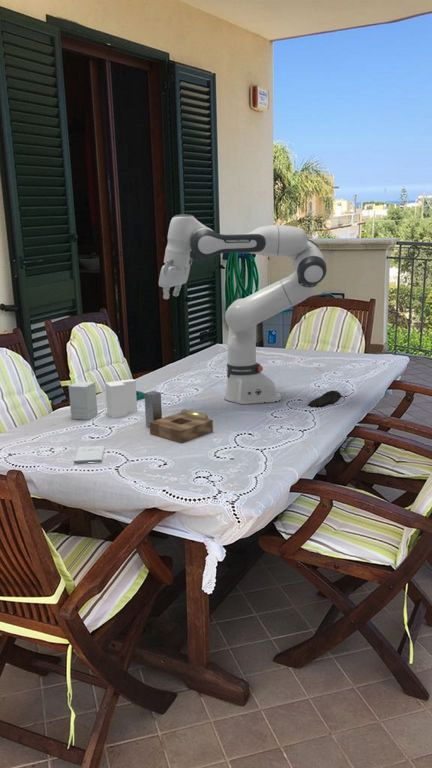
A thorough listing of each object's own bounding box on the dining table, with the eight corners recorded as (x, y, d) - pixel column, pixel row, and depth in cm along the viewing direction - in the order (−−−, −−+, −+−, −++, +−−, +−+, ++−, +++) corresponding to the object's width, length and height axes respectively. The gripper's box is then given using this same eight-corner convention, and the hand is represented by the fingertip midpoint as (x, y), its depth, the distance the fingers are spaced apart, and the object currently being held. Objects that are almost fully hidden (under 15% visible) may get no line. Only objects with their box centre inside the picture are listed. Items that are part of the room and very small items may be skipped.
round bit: (181, 421, 235) (179, 411, 234) (188, 417, 238) (187, 407, 236) (200, 426, 228) (199, 416, 227) (208, 422, 231) (207, 412, 230)
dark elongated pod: (324, 410, 244) (324, 402, 243) (306, 407, 248) (306, 400, 247) (348, 397, 262) (348, 389, 261) (331, 394, 266) (331, 387, 265)
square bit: (154, 423, 232) (153, 390, 229) (162, 425, 229) (160, 392, 227) (146, 426, 229) (144, 393, 226) (153, 428, 227) (152, 394, 224)
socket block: (182, 423, 232) (181, 412, 231) (212, 431, 222) (212, 420, 221) (150, 433, 221) (149, 422, 220) (180, 442, 211) (180, 431, 210)
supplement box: (98, 414, 244) (96, 381, 241) (88, 420, 238) (85, 386, 235) (81, 413, 247) (78, 380, 244) (70, 419, 240) (67, 385, 237)
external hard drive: (74, 465, 195) (79, 451, 207) (101, 464, 196) (105, 450, 208) (73, 460, 195) (78, 446, 207) (101, 459, 195) (104, 445, 207)
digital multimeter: (146, 398, 267) (146, 391, 266) (121, 407, 255) (121, 400, 254) (133, 396, 271) (132, 389, 270) (108, 405, 259) (107, 397, 258)
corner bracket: (113, 418, 240) (110, 386, 237) (103, 410, 250) (101, 380, 247) (140, 413, 244) (138, 382, 242) (129, 406, 254) (128, 376, 251)
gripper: (174, 263, 226) (168, 302, 230) (194, 259, 245) (188, 296, 249) (157, 259, 227) (151, 298, 231) (178, 256, 246) (172, 292, 250)
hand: (170, 297), depth 240 cm, fingers open, 8 cm apart
